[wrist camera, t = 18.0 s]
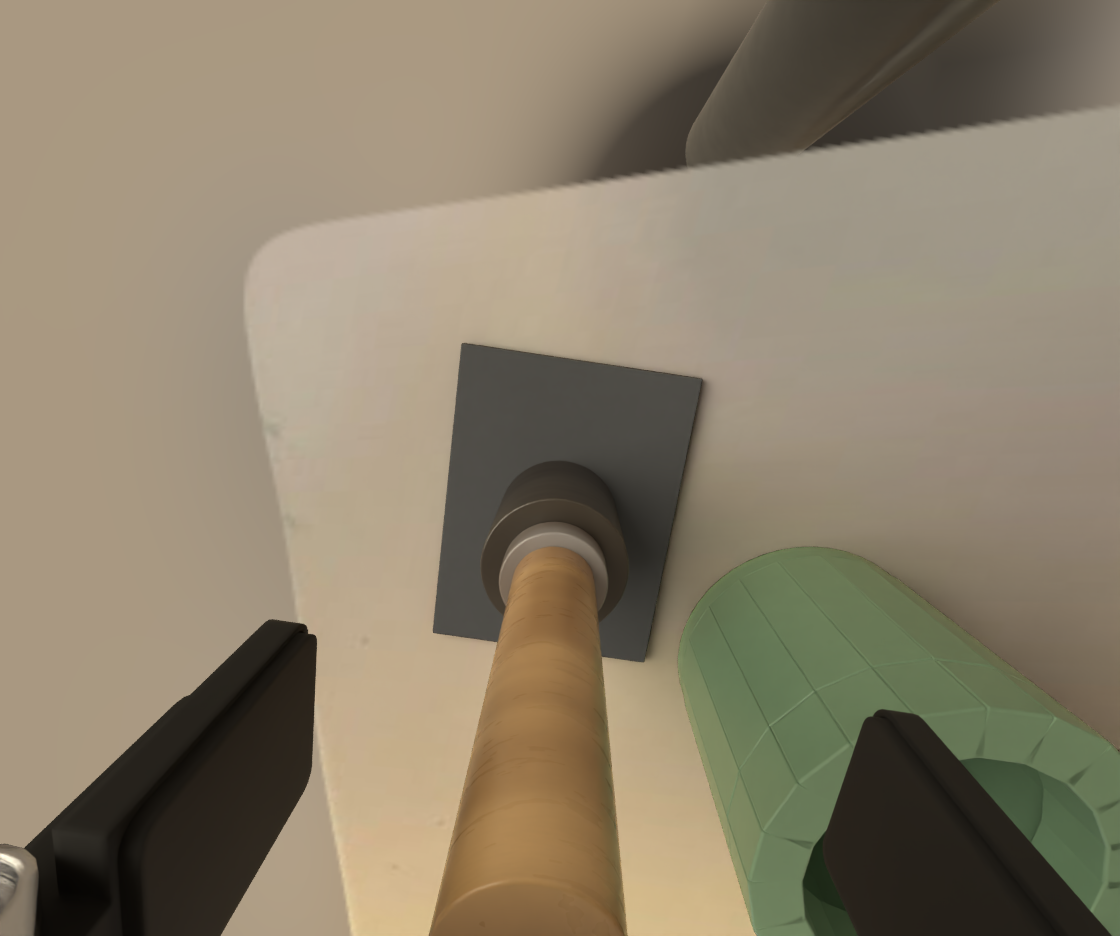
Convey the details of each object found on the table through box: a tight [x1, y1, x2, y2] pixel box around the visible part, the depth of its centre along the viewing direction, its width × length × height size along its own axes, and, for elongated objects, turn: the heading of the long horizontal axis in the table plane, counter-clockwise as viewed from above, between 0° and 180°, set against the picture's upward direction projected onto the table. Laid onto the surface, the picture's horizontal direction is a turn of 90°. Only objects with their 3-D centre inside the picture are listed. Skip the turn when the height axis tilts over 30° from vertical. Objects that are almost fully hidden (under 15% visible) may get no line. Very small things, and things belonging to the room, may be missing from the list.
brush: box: [429, 461, 629, 936], centre depth 14 cm, size 5×5×16 cm
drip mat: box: [433, 343, 702, 662], centre depth 22 cm, size 12×9×1 cm
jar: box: [678, 547, 1120, 936], centre depth 19 cm, size 10×10×10 cm
